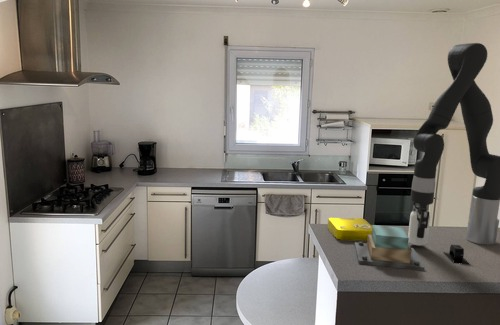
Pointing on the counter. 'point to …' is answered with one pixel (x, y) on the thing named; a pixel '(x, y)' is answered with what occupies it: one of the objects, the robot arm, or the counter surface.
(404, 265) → the brick tower
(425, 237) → the can
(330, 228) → the element tile
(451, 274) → the counter surface
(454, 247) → the black slotted housing
